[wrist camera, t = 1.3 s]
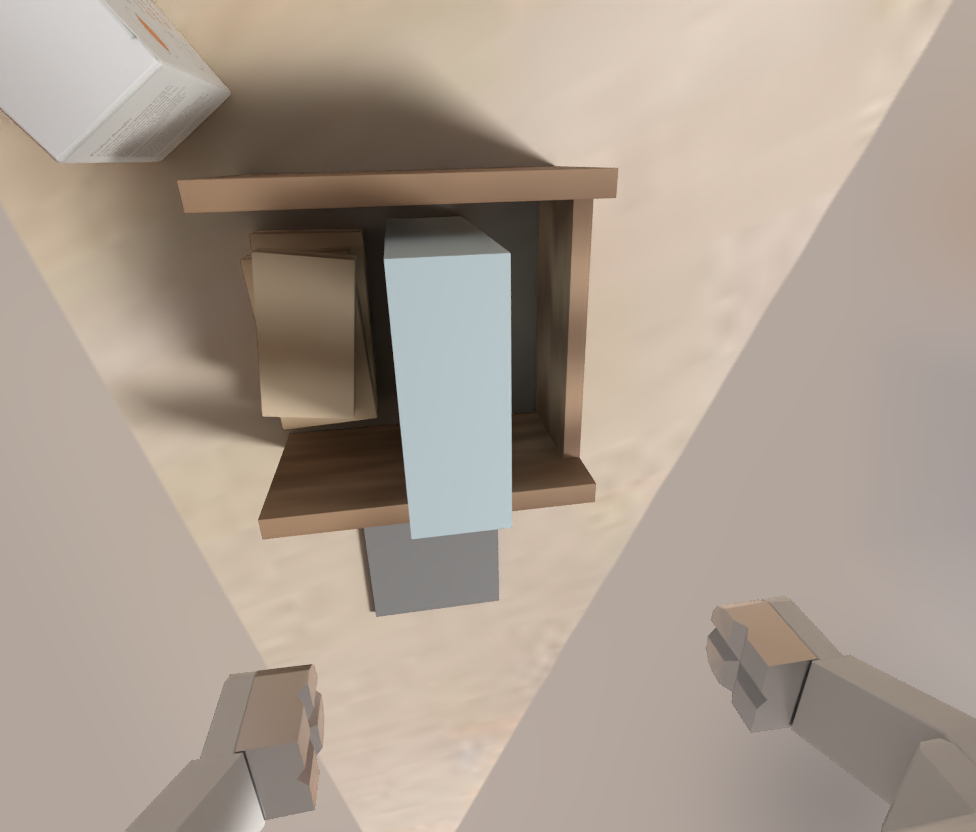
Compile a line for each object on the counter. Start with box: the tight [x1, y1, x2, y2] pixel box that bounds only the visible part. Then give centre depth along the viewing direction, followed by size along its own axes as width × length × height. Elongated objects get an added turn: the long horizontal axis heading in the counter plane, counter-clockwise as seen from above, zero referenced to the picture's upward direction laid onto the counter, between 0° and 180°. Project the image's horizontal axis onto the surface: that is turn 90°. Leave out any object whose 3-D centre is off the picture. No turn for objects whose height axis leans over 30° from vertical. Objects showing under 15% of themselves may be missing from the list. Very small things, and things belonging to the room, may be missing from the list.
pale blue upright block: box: [384, 216, 512, 539], centre depth 29 cm, size 12×4×15 cm, turn 1°
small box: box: [0, 0, 231, 164], centre depth 23 cm, size 8×6×10 cm
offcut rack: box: [177, 166, 618, 539], centre depth 31 cm, size 17×18×10 cm
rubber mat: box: [364, 523, 499, 617], centre depth 42 cm, size 14×10×1 cm
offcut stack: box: [240, 229, 378, 430], centre depth 32 cm, size 11×6×5 cm, turn 0°
